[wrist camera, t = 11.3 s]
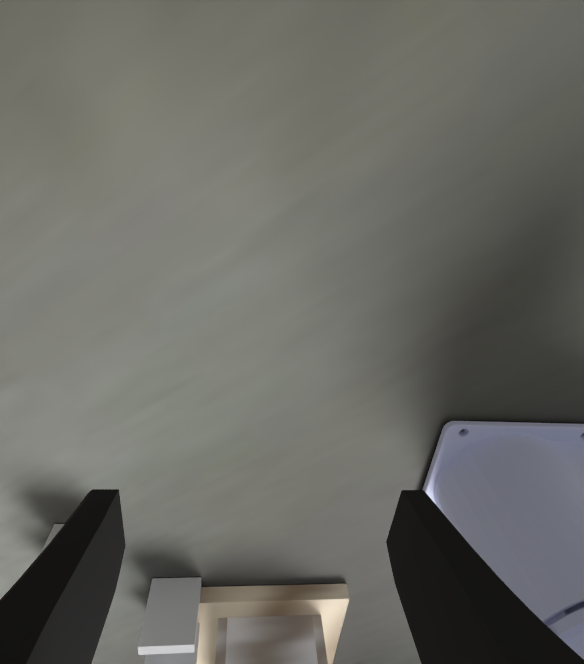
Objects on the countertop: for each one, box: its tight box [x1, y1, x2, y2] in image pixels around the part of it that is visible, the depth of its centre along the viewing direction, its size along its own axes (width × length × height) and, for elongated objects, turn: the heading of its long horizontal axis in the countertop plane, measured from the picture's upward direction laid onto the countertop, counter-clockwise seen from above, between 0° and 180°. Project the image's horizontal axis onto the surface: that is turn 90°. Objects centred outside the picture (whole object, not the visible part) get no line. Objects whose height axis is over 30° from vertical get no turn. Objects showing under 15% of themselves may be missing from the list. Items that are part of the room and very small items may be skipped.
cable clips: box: [40, 524, 201, 664], centre depth 24 cm, size 8×9×4 cm
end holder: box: [197, 584, 349, 664], centre depth 28 cm, size 10×10×4 cm
